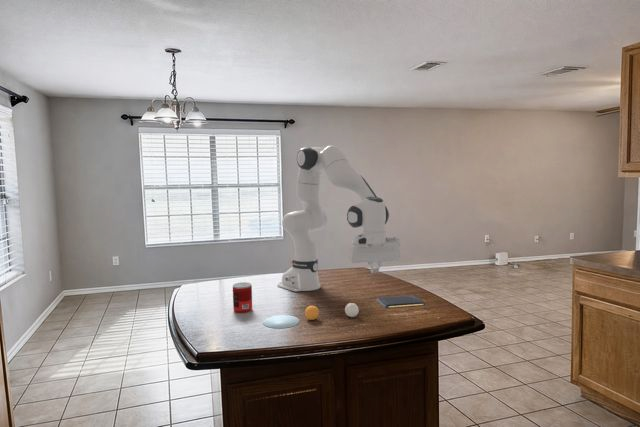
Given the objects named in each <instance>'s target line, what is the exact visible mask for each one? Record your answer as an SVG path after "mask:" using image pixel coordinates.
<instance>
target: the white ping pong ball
mask: <svg viewBox="0 0 640 427" xmlns="http://www.w3.org/2000/svg"><path fill="white" fill-rule="evenodd" d="M359 311H360V308H359V306H358V305H357V303H354V302H349V303H347V304H346V305H345V308H344V312H345V315H347V316H348V317H350V318H355V317H357V315H358V314H359Z"/></svg>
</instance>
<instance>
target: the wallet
mask: <svg viewBox="0 0 640 427" xmlns="http://www.w3.org/2000/svg"><path fill="white" fill-rule="evenodd" d="M375 301H376V302H377V303H378V304H379V305H380V306H382V307H383V308H384V309H385V310H386V309H387V310H388V309H390V310H391V309H400V308H401V309H402V308H411V307H413V308H417V307H427V306H429V305H428V304H427V303H426V302H425V301H423V300H422V299H421V298H419V297H418V296H416V295H414V294H411V295H410V294H409V295H407V294H406V295H397V296H395V295H393V296H380V297H377V298H375Z"/></svg>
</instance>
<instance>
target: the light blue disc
mask: <svg viewBox="0 0 640 427" xmlns="http://www.w3.org/2000/svg"><path fill="white" fill-rule="evenodd" d="M299 323H300V319H299V318H298V317H296V316H293V315H288V314H287V315H285V314H284V315H283V314H282V315H280V314H279V315H273V316H269V317H267V318H266V319H264V320H263V322H262V324H263V325H264V326H265V327H267V328H271V329H289V328H291V327H294V326H297V325H299Z"/></svg>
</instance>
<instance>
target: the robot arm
mask: <svg viewBox="0 0 640 427" xmlns="http://www.w3.org/2000/svg"><path fill="white" fill-rule="evenodd" d="M296 162H297V165H298V172H297V178H296V189H295V190H296V192H295V197H296V200H297V201H299V202H300V203H301V205H302V210H295V211H291V212H288V213H286V214H284V216H283V218H282V221H281V222H282V223H281V224H282V228H283V230H284V231H285V232H286V233H287V234H289V236H290V238H291V239H292V242H293V246H294V259H293V260H290V264H292V266H291V267H290V268H288V269H287V270H286V271H285V272H284V273H283V274H282V277H281V282H279V283H278V284H277V287H279V288H281V289H285V290H289V291H292V292H308V291H309V292H310V291H315V290H316V291H317V290H319V289H320V288H321V287H322V286H321V283H320V279H319V272H318V270H319V260H318V246H317V243H316V242H315V241H314V240H312V239H311V236H310V232H316V231H320V230H322V229H325V227H326V226H327V223H328V216H327V214H326V213H325V212H324V210H323V208H322V207H321V204H320V198H319V196H320V183H321V182H320V180H321V179H320V178H321V173H322V172H325V174H326V175H327V178H328V180H329V181H330V182H331V184H332V185H334V186H335V187H337V188H340V189H346V190H349V191H352V192H354V193H356V194H358V196H359V197H360V198H361V200H362V201H361V202H359V203H357V204H355V205H352V206H350V207H349V208H348V210H347V213H346V220H347V222H348V224H349V225H350V227H352V228H354V229H363V232H362V233H361V234H358V235H355V236H353V237H351V242H352V243H351V245H350V247H349V252H348V253H349V255H348V257H349V258H348V259H349V261H350V262H351V263H353V264H357V263H358V264H359V263H360V264H361V263H367V264H368V266H369V268H370V273H371V274H379V273H380V268H381V267H382V265H383V262H393V261H394V262H395V261H400V259H401V251H400V246H401V244H400V243H401V241H400V239H399V238H397V237H396V236H395V237H394V236H393V237H387V230H386V224H387V223H388V221H389V218H390V212H389V209H388V208H387V206H386V205H385V201H384V199H382V198H381V197H378V196H377V195H376V193H375V192H374V190H373V188H371V186H370V184H369V183H368V182H367V180H366V179H365V177H363V176H362V175H360V174H359V173H358V172H357V171H356V170H355V169H354V168H353V167H352V165H351V164H350V162H349V160H348V158H347V156H346V155H345V154H344V152H343V150H342V149H341V148H340V147H339V146H337V145H328V146H311V147H310V146H304V147H302V148H300V149H299V150H298V152H297V155H296ZM374 263H376V264H377V265H376V267H374V266H373V264H374Z"/></svg>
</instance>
